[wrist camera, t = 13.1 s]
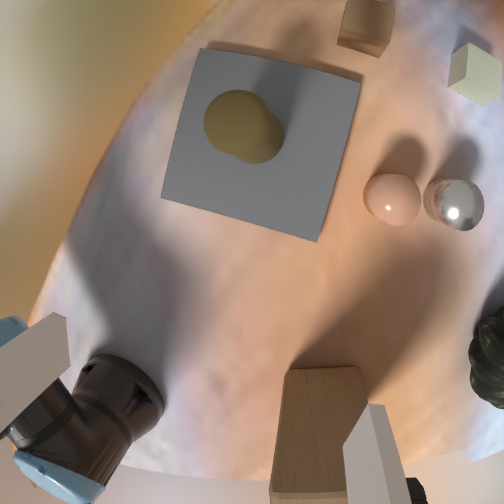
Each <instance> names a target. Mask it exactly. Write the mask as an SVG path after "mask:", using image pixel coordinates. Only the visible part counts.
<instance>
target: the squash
mask: <svg viewBox="0 0 504 504" xmlns="http://www.w3.org/2000/svg"><path fill="white" fill-rule="evenodd" d="M468 355H469V360H470V363H471V365H472V366H471V372H470V383H471V386H472V389H473V390H474V392H475V393H476V394H477V395H478V396H479V397H480V398H482V399H483V400H485V401H488V402H490V403H491V404H492V405H493V406H495V407H496V408H499V409H504V306H502V307H501V308H500V309H499V310H498V312H497V314H496V316H489V317H486V318H484V319H482V320H481V321H480V323H479V328H478V336H476V337H475V338H474V339H473V340H472V342H471V344H470V347H469V351H468Z"/></svg>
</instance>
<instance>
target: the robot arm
mask: <svg viewBox="0 0 504 504" xmlns="http://www.w3.org/2000/svg"><path fill="white" fill-rule="evenodd" d="M69 367H70V359H69V350H68V339H67V326H66V317H63V316H61V315H59V314H57V313H55V312H53V313H52V314H50V315H48V316H47V317H45V318H44V319H42V320H41V321H39V322H38V323H36V324H35V325H33V326H32V327H30V328H29V327H28V326H27V324H26V322H25V321H24V320H23V319H22V318H20V317H18V316H9V317H6V318H3V319H0V440H1V439H3V438H4V437H6V436H8V437H9V439H10V440H11V441H12V442H13V444H14V445H15V446H16V447H17V449H18V450H17V451H15V452H14V457H13V459H14V462H15V463H16V464H17V466H18V468H19V469H20V470H21V471H22V472H23V473H24V474H25V475H26V476H27V477H28V478H30V479H31V480H32V481H33V482H35V483H36V484H37V485H39V486H40V487H42V488H43V489H44V490H46V491H47V492H49V493H50V494H52V495H54V496H56V497H57V498H59V499H61V500H63V501H66V502H68V503H70V504H93V503H94V502H95V500H96V499H97V498H98V496H99V495H100V494H101V493H102V492H103V491H104V490H105V486H106V485H107V483H108V481H109V480H110V478H111V476H112V475H113V473H114V472H115V470H116V468H117V467H118V465H119V464H120V462H121V460H122V459H123V457H124V455H125V454H126V452H127V450H128V449H129V447H130V446H131V444H132V443H133V442H134V441H136V440H137V439H139V438H140V437H142V436H143V435H144V434H146V433H147V432H149V431H150V430H151V429H153V428H154V427H155V426H156V425H157V423H158V421H159V420H160V418H161V416H162V414H163V401H162V397H161V395H160V393H159V391H158V389H157V388H156V386H155V385H154V383H153V382H152V381H151V380H150V378H149V377H148V376H147V375H146V374H145V373H143V372H142V371H141V370H140V369H139V368H137V367H136V366H135V365H133V364H131V363H130V362H128V361H126V360H124V359H122V358H119V357H116V356H112V355H98V356H95V357H93V358H92V359H91V360H90V361H89V362H88V363H86V364H85V365H84V367H83V368H82V370H81V372H80V374H79V377H78V379H77V382H76V384H75V387H74V389H73V392H72V394H70V393H69V391H68V390H67V389H66V387H65V386H64V384H63V383H62V381H61V380H60V378H59V376H60V375H61V374H62V373H63V372H64V371H66V370H67V369H68V368H69ZM343 455H344V465H345V475H346V485H347V496H348V504H428V502H427V501H426V499H427V498H426V495H425V491H424V488H423V486H422V485H421V484H420V482H419V481H418V480H417V478H405V475H404V471H403V467H402V464H401V460H400V456H399V453H398V449H397V446H396V442H395V439H394V435H393V432H392V429H391V425H390V422H389V419H388V416H387V412H386V409H385V406H384V405H377V404H369V403H368V404H367V406H366V408H365V409H364V411H363V413H362V415H361V416H360V418H359V420H358V422H357V423H356V425H355V427H354V428H353V430H352V432H351V433H350V435H349V437H348V438H347V440H346V441H345V443H344V445H343Z"/></svg>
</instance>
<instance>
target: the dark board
mask: <svg viewBox="0 0 504 504" xmlns="http://www.w3.org/2000/svg"><path fill="white" fill-rule="evenodd" d="M360 85H361V83H359V82H356V81H353V80H349V79H346V78H343V77H340V76H337V75H333V74H330V73H326V72H323V71H319V70H315V69H312V68H308V67H304V66H300V65H296V64H291V63H287V62H282V61H278V60H273V59H268V58H263V57H258V56H252V55H246V54H240V53H234V52H227V51H219V50H211V49H202V48H200V51H199V54H198V57H197V60H196V63H195V66H194V70H193V73H192V76H191V79H190V83H189V86H188V89H187V93H186V96H185V100H184V103H183V107H182V110H181V114H180V117H179V121H178V125H177V129H176V133H175V137H174V141H173V145H172V149H171V153H170V157H169V161H168V166H167V170H166V174H165V179H164V184H163V188H162V193H161V198H163V199H167V200H171V201H174V202H178V203H182V204H185V205H189V206H192V207H196V208H200V209H203V210H207V211H210V212H214V213H217V214H221V215H224V216H228V217H231V218H235V219H238V220H242V221H245V222H249V223H252V224H256V225H259V226H263V227H266V228H269V229H273V230H276V231H280V232H283V233H286V234H290V235H293V236H296V237H300V238H303V239H306V240H309V241H313V242H316V243H317V240H318V237H319V233H320V230H321V227H322V224H323V221H324V217H325V214H326V211H327V207H328V204H329V201H330V197H331V194H332V191H333V187H334V184H335V180H336V177H337V173H338V170H339V166H340V163H341V159H342V156H343V152H344V148H345V145H346V141H347V137H348V133H349V130H350V126H351V122H352V118H353V114H354V110H355V106H356V102H357V98H358V94H359V90H360ZM236 89H239V90H246V91H250V92H252V93H254V94H256V95H259V96H260V97H261V98H262V99H263V100H264V101H265V102H266V104H267V106H268V108H269V110H270V112H271V113H273V114H274V115H275V116H276V117H277V118H278V119H279V120H280V122H281V124H282V126H283V129H284V142H283V146H282V148H281V149H280V151H279V153H278V154H277V155H276V156H275V157H273V158H272V159H271V160H269V161H267V162H264V163H259V164H251V163H246V162H244V161H242V160H240V159H238V158H237V157H236V156H235V155H231V154H226V153H223V152H221V151H220V150H218V149H216V148H215V147H214V146H213V145H212V144H211V143H210V142H209V140H208V138H207V136H206V133H205V131H204V123H203V120H204V115H205V111H206V109H207V108H208V106H209V104H210V102H211V101H213V100H214V99H215V98H216V97H217V96H218V95H220V94H222V93H224V92H226V91H230V90H236Z"/></svg>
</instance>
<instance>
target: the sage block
mask: <svg viewBox="0 0 504 504" xmlns="http://www.w3.org/2000/svg"><path fill="white" fill-rule="evenodd" d="M502 69H503V63H502V62H501V61H499V60H498V59H496V58H494V57H493V56H491V55H490V54H488V53H486V52H485V51H483V50H482V49H480V48H478V47H477V46H475V45H473V44H471V43H470V42H468V43H467V44H465V45H464V46H462V47H461V48H460V49H458V50H457V51H456V52H454V53H453V54H452V55H451V64H450V72H449V79H448V86H447V88H449V89H451V90H453V91H455V92H457V93H459V94H461V95H462V96H464V97H466V98H468V99H470V100H471V101H473V102H475V103H477V104H478V105H482V104H485V103H488V102H491V101H495V100H498V99H500V97H501V85H502Z"/></svg>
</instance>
